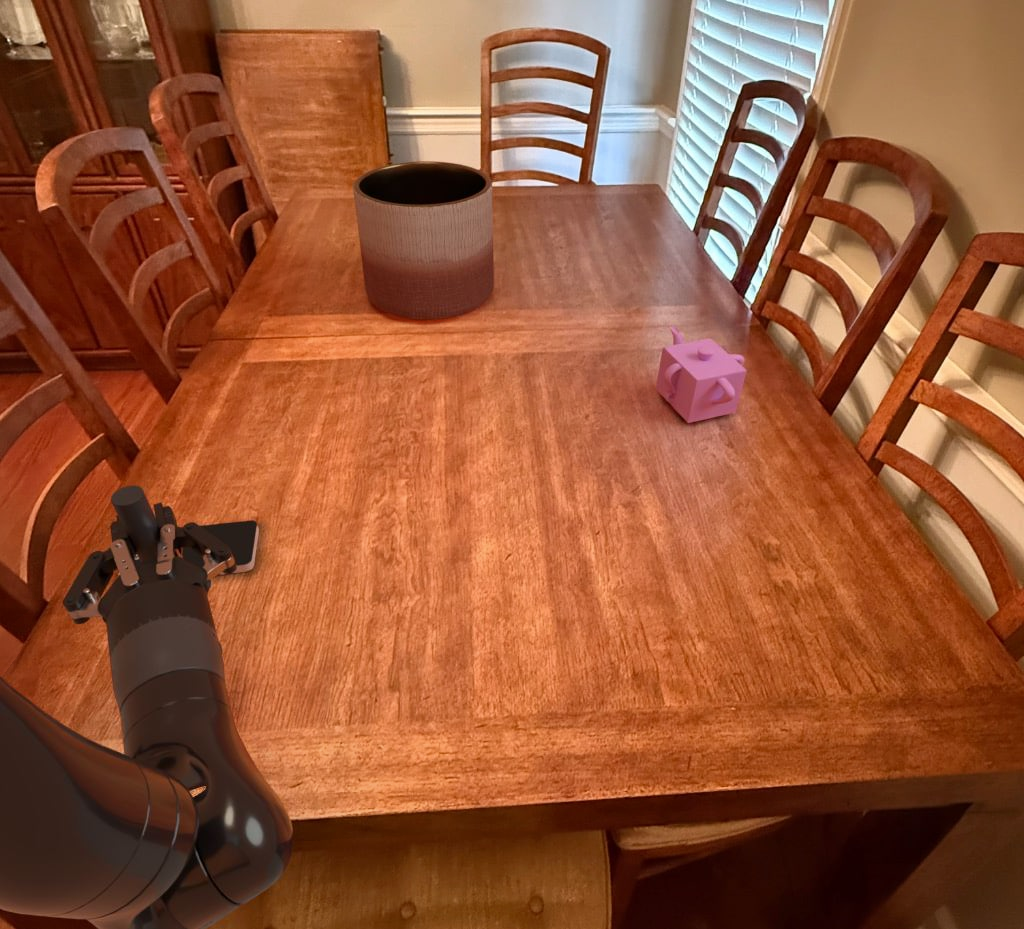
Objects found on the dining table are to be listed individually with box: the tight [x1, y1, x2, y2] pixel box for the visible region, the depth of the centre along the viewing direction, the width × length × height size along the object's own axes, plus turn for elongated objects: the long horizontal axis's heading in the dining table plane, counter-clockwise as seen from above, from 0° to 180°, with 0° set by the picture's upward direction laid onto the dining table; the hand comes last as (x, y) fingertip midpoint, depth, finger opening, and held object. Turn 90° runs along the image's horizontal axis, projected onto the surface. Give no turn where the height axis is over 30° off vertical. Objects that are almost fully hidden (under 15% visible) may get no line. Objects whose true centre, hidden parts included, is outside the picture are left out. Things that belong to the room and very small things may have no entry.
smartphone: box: [118, 519, 260, 576], centre depth 85 cm, size 8×1×15 cm
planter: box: [352, 160, 495, 321], centre depth 132 cm, size 25×25×22 cm
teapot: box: [655, 326, 748, 424], centre depth 108 cm, size 18×14×10 cm
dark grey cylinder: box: [110, 484, 160, 562], centre depth 64 cm, size 3×3×12 cm
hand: (142, 515), depth 65 cm, fingers closed on dark grey cylinder, 2 cm apart
